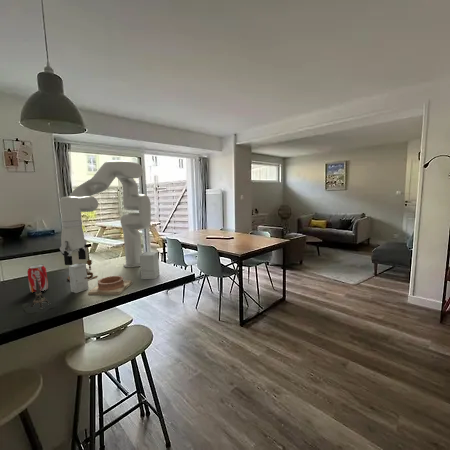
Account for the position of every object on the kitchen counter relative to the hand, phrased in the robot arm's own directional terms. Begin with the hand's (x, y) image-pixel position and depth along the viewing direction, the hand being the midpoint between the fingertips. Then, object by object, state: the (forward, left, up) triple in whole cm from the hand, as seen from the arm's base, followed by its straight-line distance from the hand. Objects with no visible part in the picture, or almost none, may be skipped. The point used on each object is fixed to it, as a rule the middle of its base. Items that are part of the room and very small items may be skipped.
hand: (75, 262), depth 119 cm
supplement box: (-19, +27, -14) cm, 36 cm away
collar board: (-3, +14, -14) cm, 20 cm away
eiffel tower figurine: (+16, -7, -14) cm, 22 cm away
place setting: (-21, -9, -14) cm, 28 cm away
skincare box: (-1, 0, -14) cm, 14 cm away
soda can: (0, -19, -14) cm, 23 cm away
